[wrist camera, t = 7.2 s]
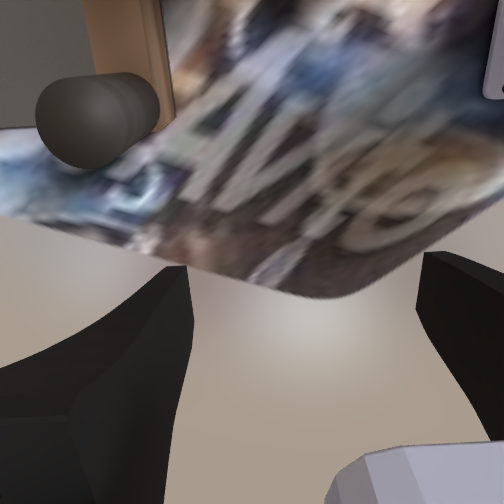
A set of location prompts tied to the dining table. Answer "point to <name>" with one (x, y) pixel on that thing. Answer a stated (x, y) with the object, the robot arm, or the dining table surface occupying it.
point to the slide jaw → (110, 87)
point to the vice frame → (42, 53)
